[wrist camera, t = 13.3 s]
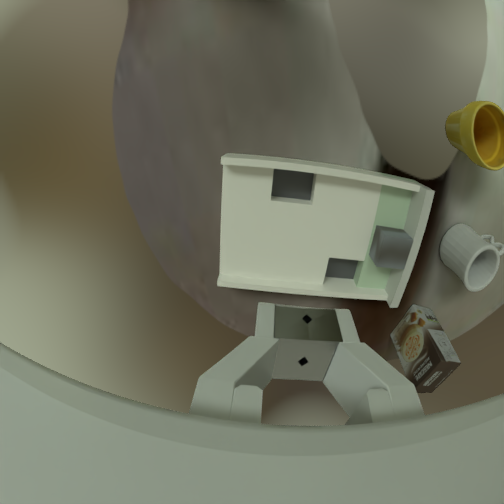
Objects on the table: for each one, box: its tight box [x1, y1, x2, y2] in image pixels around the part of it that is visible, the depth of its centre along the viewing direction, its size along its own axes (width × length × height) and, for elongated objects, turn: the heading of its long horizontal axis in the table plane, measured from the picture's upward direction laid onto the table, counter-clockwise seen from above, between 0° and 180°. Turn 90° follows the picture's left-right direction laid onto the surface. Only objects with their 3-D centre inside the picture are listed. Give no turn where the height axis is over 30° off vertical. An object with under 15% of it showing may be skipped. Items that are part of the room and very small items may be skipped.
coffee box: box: [390, 304, 461, 393], centre depth 44 cm, size 9×6×16 cm
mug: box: [440, 224, 504, 292], centre depth 37 cm, size 12×9×10 cm
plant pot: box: [445, 101, 504, 170], centre depth 28 cm, size 10×10×10 cm
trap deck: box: [217, 153, 435, 308], centre depth 40 cm, size 20×30×7 cm, turn 86°
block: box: [369, 225, 413, 269], centre depth 38 cm, size 5×5×4 cm
